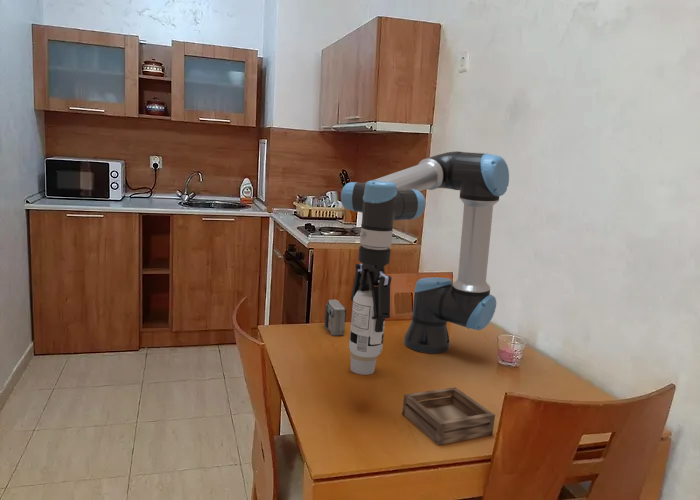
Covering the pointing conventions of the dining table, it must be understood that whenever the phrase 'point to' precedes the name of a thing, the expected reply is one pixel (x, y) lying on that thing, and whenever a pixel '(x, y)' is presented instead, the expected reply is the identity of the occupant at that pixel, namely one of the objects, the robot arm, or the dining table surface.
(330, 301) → the camera
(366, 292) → the supplement can
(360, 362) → the coffee cup
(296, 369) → the dining table surface
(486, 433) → the crate
